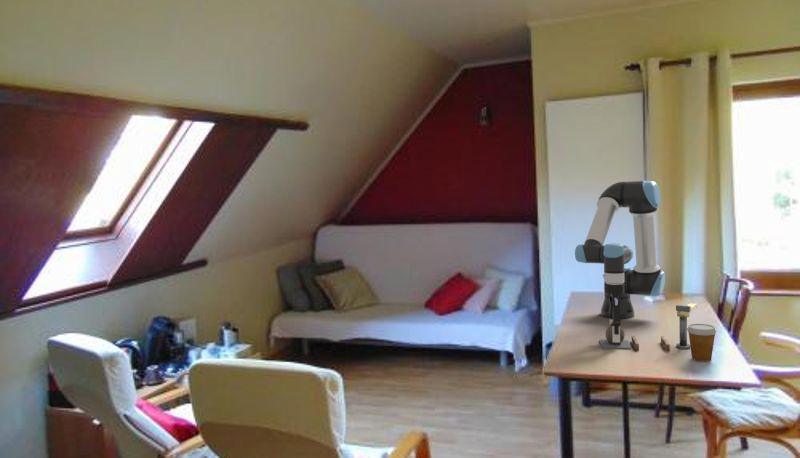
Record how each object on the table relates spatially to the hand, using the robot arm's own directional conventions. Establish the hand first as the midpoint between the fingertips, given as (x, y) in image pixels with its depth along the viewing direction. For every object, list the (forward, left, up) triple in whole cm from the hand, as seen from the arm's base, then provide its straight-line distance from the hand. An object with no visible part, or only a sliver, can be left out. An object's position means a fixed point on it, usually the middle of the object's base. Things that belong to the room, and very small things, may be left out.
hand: (614, 338), depth 242 cm
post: (+1, +25, -3) cm, 25 cm away
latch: (-5, +28, +10) cm, 30 cm away
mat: (0, 0, -3) cm, 3 cm away
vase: (0, 0, -2) cm, 2 cm away
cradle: (+1, +13, -3) cm, 13 cm away
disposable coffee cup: (+16, +28, -3) cm, 32 cm away
